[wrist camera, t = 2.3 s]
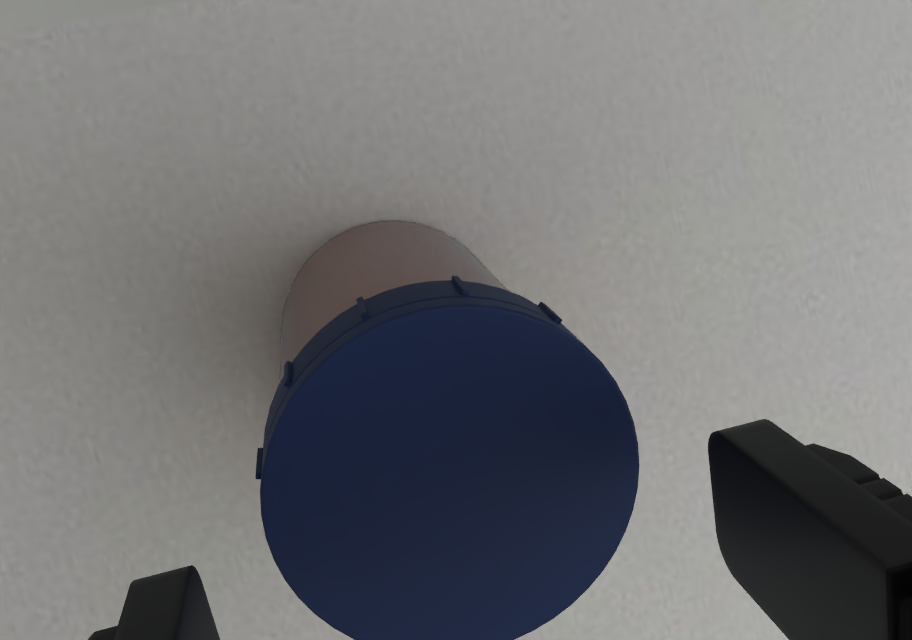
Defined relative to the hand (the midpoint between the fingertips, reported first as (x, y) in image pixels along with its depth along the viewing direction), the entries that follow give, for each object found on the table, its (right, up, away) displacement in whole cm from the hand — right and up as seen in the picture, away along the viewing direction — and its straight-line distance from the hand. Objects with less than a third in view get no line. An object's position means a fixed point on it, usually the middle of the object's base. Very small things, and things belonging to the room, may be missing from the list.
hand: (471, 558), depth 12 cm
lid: (0, +1, +2) cm, 2 cm away
